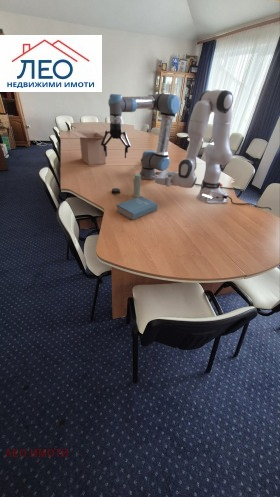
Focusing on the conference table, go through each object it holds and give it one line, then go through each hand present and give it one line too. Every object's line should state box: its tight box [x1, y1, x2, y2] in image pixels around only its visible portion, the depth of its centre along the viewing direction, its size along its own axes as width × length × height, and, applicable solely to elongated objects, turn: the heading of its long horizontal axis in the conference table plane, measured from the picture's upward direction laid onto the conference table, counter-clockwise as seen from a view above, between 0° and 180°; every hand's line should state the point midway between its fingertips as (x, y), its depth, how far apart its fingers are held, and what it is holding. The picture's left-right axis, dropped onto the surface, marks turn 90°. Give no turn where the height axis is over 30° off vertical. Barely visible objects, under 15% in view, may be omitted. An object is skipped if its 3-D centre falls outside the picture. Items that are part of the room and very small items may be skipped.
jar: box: [132, 173, 142, 198], centre depth 165 cm, size 5×5×16 cm
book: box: [116, 195, 159, 221], centre depth 148 cm, size 23×16×5 cm
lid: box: [111, 187, 121, 195], centre depth 172 cm, size 6×6×2 cm
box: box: [70, 129, 111, 166], centre depth 229 cm, size 44×36×27 cm
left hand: (115, 156), depth 157 cm, fingers open, 13 cm apart
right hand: (153, 174), depth 156 cm, fingers open, 8 cm apart
